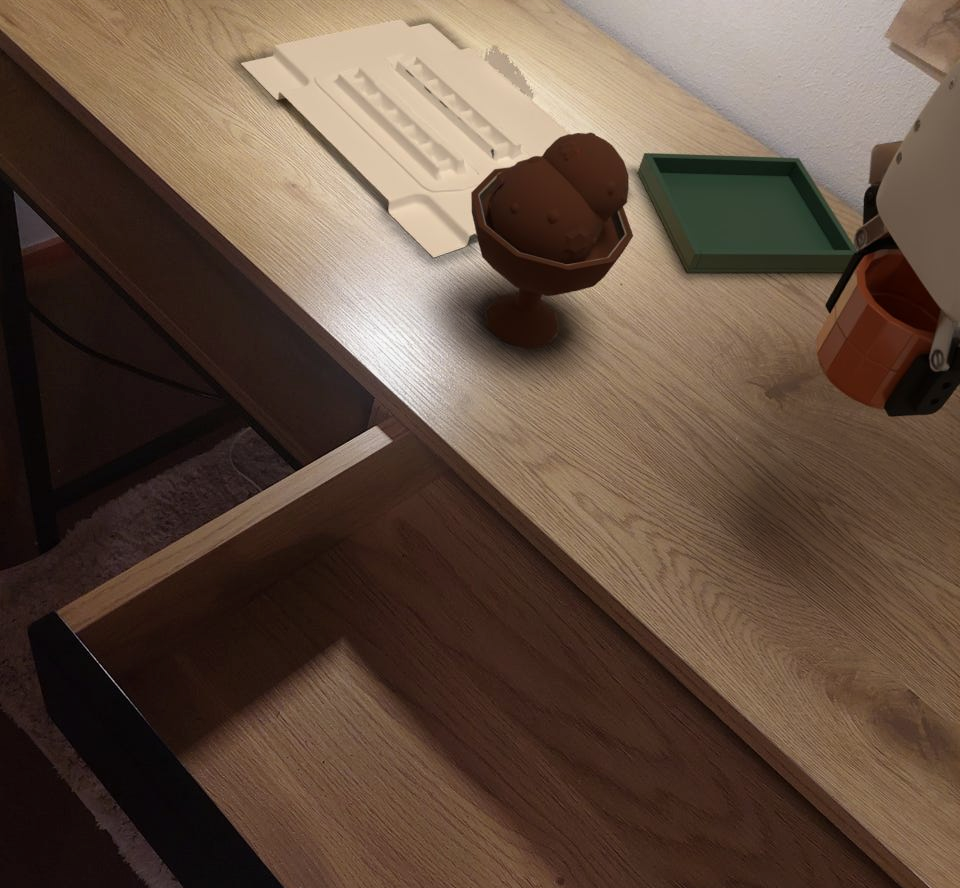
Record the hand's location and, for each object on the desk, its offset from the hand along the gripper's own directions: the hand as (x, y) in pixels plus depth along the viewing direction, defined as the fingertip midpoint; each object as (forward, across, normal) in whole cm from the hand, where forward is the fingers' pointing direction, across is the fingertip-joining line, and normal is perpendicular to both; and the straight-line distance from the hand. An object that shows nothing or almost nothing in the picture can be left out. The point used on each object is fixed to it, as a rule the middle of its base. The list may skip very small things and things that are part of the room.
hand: (878, 357), depth 59 cm
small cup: (+1, 0, 0) cm, 1 cm away
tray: (+15, +44, +15) cm, 49 cm away
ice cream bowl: (+15, +20, +13) cm, 28 cm away
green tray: (+15, +32, -10) cm, 37 cm away
